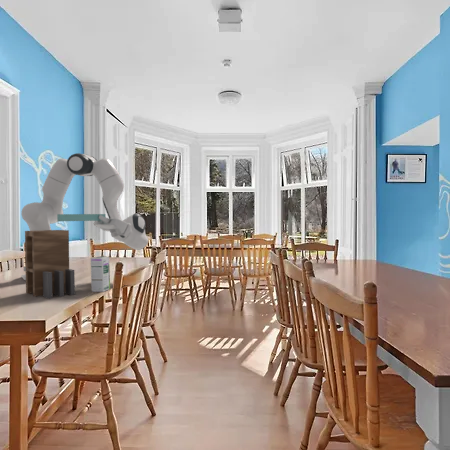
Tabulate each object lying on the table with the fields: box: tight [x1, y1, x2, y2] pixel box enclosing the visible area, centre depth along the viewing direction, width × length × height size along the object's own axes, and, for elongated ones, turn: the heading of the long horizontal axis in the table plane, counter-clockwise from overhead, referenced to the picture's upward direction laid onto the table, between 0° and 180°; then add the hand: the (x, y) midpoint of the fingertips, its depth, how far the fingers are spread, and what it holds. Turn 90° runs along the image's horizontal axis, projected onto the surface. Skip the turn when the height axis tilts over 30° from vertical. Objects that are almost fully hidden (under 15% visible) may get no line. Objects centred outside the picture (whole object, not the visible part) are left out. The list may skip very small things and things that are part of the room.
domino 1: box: [42, 271, 53, 299], centre depth 150 cm, size 2×5×10 cm, turn 46°
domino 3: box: [65, 268, 76, 296], centre depth 156 cm, size 2×5×10 cm, turn 47°
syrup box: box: [90, 255, 111, 293], centre depth 163 cm, size 6×6×14 cm
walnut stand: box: [24, 229, 70, 297], centre depth 159 cm, size 10×14×26 cm
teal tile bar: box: [57, 213, 106, 222], centre depth 170 cm, size 3×21×3 cm, turn 136°
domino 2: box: [54, 270, 65, 297], centre depth 153 cm, size 2×5×10 cm, turn 46°
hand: (96, 216), depth 175 cm, fingers closed on teal tile bar, 3 cm apart
